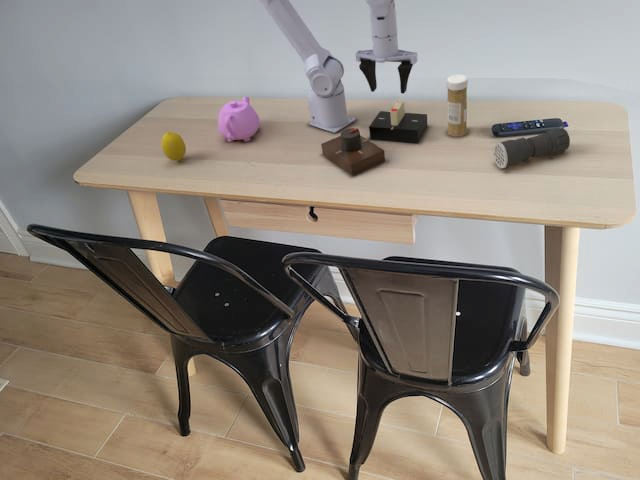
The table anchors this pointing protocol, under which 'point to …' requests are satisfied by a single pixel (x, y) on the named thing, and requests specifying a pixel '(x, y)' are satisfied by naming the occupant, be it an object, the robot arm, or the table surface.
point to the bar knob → (397, 113)
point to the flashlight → (530, 147)
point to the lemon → (173, 146)
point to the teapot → (238, 120)
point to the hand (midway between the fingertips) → (388, 90)
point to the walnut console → (353, 155)
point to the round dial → (351, 139)
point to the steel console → (398, 128)
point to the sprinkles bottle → (457, 105)
